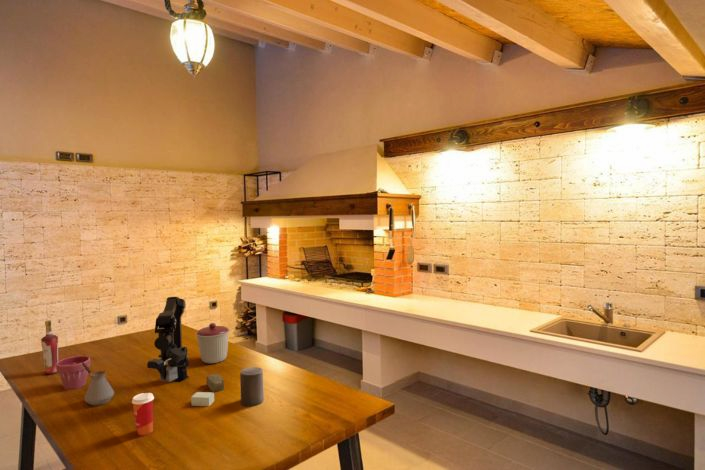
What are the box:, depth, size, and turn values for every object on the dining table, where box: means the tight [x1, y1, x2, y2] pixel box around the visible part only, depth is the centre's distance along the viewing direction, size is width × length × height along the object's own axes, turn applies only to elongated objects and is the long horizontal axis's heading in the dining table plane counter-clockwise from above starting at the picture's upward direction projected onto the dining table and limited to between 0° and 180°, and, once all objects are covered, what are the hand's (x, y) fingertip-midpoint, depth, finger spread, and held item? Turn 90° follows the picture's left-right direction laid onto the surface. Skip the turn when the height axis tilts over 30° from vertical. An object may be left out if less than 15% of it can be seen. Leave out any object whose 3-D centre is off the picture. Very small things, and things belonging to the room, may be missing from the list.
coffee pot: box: [80, 363, 115, 406], centre depth 199 cm, size 21×12×15 cm, turn 53°
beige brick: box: [190, 391, 215, 407], centre depth 191 cm, size 8×5×4 cm, turn 83°
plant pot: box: [56, 355, 92, 391], centre depth 214 cm, size 14×14×13 cm
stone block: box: [206, 373, 225, 393], centre depth 208 cm, size 6×12×5 cm, turn 33°
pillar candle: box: [239, 366, 265, 407], centre depth 191 cm, size 10×10×15 cm
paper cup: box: [131, 392, 155, 437], centre depth 168 cm, size 8×8×14 cm
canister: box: [195, 322, 231, 364], centre depth 244 cm, size 18×18×21 cm
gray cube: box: [159, 366, 178, 383], centre depth 197 cm, size 5×5×5 cm
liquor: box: [40, 319, 59, 375], centre depth 233 cm, size 7×7×28 cm
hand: (169, 377), depth 197 cm, fingers closed on gray cube, 5 cm apart
